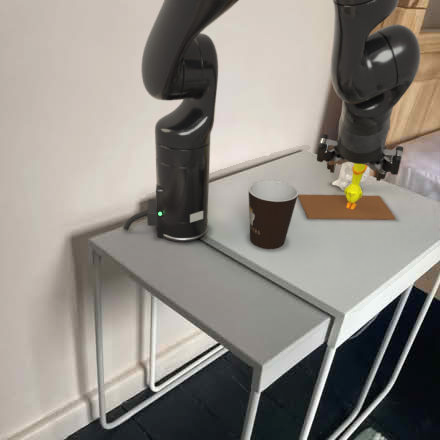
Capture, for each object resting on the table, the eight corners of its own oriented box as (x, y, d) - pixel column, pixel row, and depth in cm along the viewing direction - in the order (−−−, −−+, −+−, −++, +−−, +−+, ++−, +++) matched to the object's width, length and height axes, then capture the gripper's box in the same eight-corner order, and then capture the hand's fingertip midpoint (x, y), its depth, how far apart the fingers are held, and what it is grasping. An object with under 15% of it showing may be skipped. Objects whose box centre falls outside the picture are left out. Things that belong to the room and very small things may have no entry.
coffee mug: (288, 255, 88) (296, 204, 82) (240, 248, 89) (244, 197, 83) (293, 224, 97) (301, 176, 91) (250, 218, 98) (254, 171, 92)
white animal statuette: (322, 185, 113) (332, 132, 106) (340, 177, 116) (350, 126, 109) (354, 198, 108) (366, 144, 101) (371, 190, 112) (384, 137, 105)
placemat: (307, 218, 99) (308, 216, 99) (298, 196, 107) (298, 194, 107) (394, 219, 101) (395, 217, 100) (378, 197, 109) (379, 195, 108)
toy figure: (347, 198, 107) (359, 143, 99) (363, 202, 105) (377, 147, 98) (338, 210, 102) (350, 154, 95) (355, 215, 100) (368, 158, 93)
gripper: (312, 144, 79) (313, 183, 94) (405, 159, 75) (390, 197, 91) (323, 101, 80) (323, 147, 95) (415, 114, 76) (399, 160, 92)
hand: (356, 172), depth 93 cm, fingers open, 8 cm apart
